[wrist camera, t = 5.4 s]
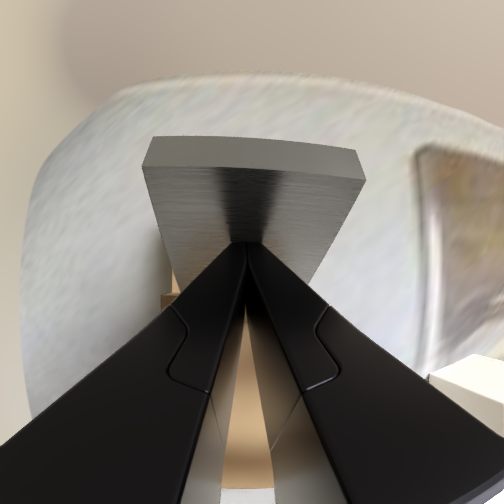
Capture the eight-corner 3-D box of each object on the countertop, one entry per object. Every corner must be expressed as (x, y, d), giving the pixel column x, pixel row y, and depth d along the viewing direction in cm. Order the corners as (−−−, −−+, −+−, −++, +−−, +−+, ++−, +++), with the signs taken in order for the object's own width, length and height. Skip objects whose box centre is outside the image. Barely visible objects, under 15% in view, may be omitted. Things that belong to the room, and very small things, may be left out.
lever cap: (283, 323, 14) (366, 179, 6) (190, 320, 14) (141, 166, 5) (281, 290, 15) (347, 130, 7) (193, 287, 15) (161, 117, 6)
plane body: (279, 463, 17) (293, 508, 12) (185, 461, 17) (175, 507, 11) (293, 219, 19) (317, 197, 13) (185, 214, 18) (168, 190, 13)
